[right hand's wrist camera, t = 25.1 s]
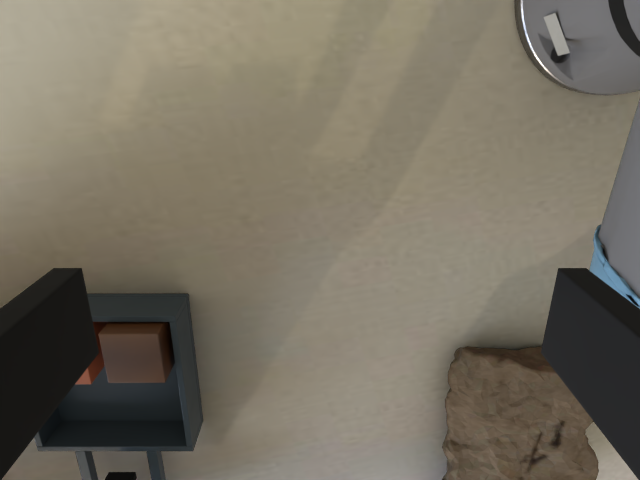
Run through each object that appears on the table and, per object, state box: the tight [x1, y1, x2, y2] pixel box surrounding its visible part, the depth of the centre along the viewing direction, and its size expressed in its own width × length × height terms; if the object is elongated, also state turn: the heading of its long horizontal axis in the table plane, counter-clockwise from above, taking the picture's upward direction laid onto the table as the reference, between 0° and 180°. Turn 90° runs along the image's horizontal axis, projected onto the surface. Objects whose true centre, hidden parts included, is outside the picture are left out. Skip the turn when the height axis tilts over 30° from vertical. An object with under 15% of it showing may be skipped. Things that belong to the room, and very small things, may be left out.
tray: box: [34, 294, 203, 480], centre depth 43 cm, size 26×15×10 cm, turn 0°
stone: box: [442, 346, 599, 480], centre depth 45 cm, size 21×15×6 cm
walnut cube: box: [98, 322, 175, 383], centre depth 41 cm, size 5×5×5 cm
